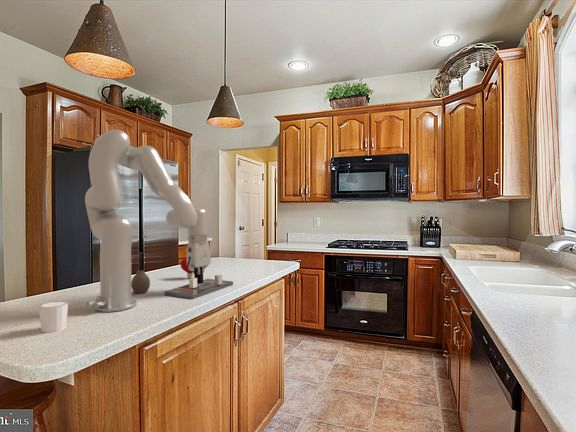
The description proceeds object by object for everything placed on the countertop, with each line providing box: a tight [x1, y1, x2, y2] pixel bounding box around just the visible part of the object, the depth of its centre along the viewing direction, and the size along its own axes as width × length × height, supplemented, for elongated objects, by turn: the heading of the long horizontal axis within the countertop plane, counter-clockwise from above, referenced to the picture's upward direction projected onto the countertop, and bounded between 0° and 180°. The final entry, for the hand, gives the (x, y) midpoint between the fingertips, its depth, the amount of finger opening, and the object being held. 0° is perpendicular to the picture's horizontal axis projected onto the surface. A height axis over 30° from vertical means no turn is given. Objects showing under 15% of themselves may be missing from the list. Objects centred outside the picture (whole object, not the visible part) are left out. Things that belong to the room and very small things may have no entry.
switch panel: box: [164, 273, 234, 300], centre depth 140 cm, size 26×14×6 cm, turn 155°
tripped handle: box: [188, 277, 197, 288], centre depth 135 cm, size 2×2×4 cm
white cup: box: [38, 300, 69, 334], centre depth 94 cm, size 7×7×7 cm
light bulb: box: [180, 257, 197, 279], centre depth 163 cm, size 9×7×10 cm
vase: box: [131, 269, 151, 295], centre depth 135 cm, size 7×7×9 cm
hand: (199, 283), depth 138 cm, fingers closed
